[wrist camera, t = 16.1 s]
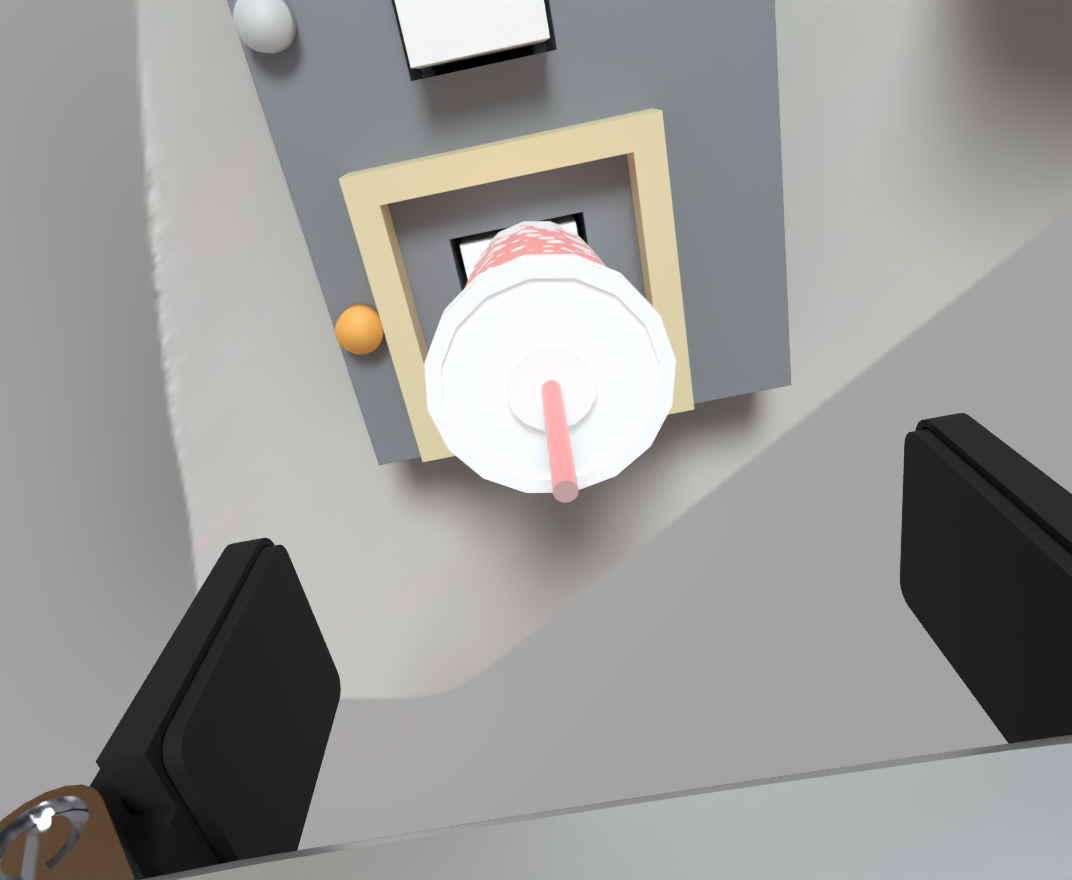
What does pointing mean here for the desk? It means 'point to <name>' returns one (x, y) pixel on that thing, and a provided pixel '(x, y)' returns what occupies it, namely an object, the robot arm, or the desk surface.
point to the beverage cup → (548, 365)
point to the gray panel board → (533, 179)
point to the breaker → (468, 28)
